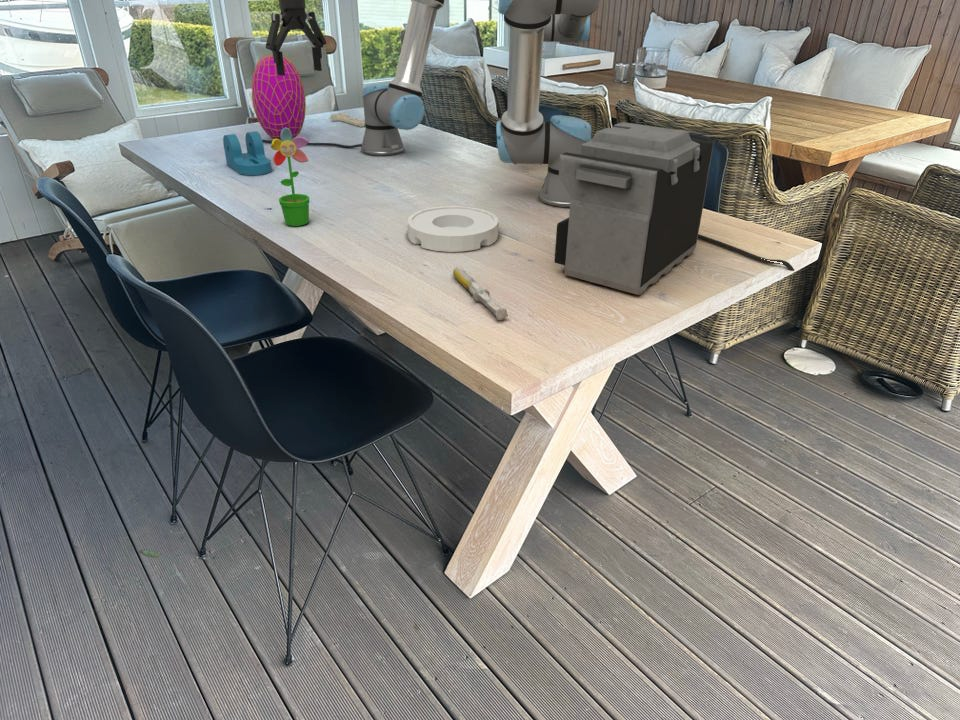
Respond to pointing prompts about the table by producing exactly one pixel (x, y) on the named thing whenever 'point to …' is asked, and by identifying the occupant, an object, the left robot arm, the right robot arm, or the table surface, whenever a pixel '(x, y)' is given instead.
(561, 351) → the table surface
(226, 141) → the camera mount
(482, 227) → the ashtray
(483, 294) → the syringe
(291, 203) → the potted flower
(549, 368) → the table surface
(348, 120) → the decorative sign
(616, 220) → the grey cooler box
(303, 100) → the decorative egg
